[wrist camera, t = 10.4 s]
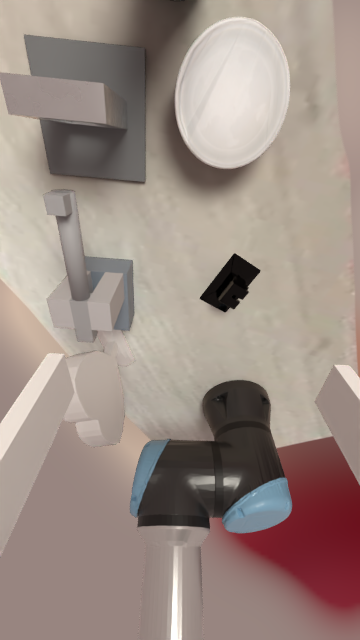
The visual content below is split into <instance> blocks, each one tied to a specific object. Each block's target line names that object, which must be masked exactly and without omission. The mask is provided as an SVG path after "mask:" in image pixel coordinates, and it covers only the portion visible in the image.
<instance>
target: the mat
mask: <svg viewBox="0 0 360 640" xmlns="http://www.w3.org/2000/svg"><path fill="white" fill-rule="evenodd" d="M24 39H25V44H26V49H27V54H28V60H29V65H30V70H31V75H32V76H39V77H49V78H58V79H68V80H78V81H87V82H97V83H104V84H105V85H106V86H108V87H109V88H110V89H112V90H113V91H114V92H115V93H117V94H118V95H119V96H120V97H122V98H123V99H124V100H126V101H127V124H128V130H126V129H116V128H106V127H96V126H85V125H75V124H65V123H56V122H50V121H45V120H40V123H41V128H42V133H43V138H44V144H45V149H46V154H47V159H48V165H49V170H50V173H51V174H62V175H73V176H85V177H96V178H107V179H118V180H129V181H141V182H145V48H141V47H132V46H123V45H114V44H105V43H96V42H87V41H78V40H69V39H60V38H51V37H42V36H33V35H24Z"/></svg>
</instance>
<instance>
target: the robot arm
mask: <svg viewBox="0 0 360 640" xmlns="http://www.w3.org/2000/svg"><path fill="white" fill-rule="evenodd" d="M74 393H75V392H74V388H73V385H72V381H71V377H70V373H69V370H68V366H67V362H66V359H65V355H64V354H55V353H48V354H47V356H46V357H45V358H44V360H43V361H42V363H41V365H40V366H39V367H38V369H37V370H36V372H35V373H34V375H33V376H32V378H31V379H30V381H29V382H28V384H27V385H26V386H25V388H24V389H23V391H22V392H21V394H20V395H19V397H18V398H17V400H16V401H15V403H14V404H13V406H12V407H11V409H10V410H9V412H8V413H7V414H6V416H5V418H4V419H3V420H2V422H1V423H0V557H1V554H2V552H3V550H4V548H5V546H6V543H7V541H8V539H9V536H10V534H11V532H12V530H13V528H14V526H15V523H16V521H17V519H18V517H19V514H20V512H21V510H22V508H23V506H24V504H25V501H26V499H27V497H28V494H29V493H30V490H31V488H32V486H33V484H34V481H35V479H36V477H37V475H38V473H39V470H40V468H41V466H42V464H43V461H44V459H45V457H46V455H47V453H48V450H49V448H50V446H51V444H52V442H53V439H54V437H55V435H56V433H57V431H58V428H59V426H60V424H61V422H62V420H63V417H64V415H65V413H66V411H67V409H68V406H69V404H70V402H71V400H72V398H73V395H74ZM315 403H316V405H317V407H318V409H319V411H320V412H321V414H322V416H323V418H324V420H325V422H326V424H327V425H328V427H329V429H330V431H331V433H332V435H333V436H334V438H335V440H336V442H337V444H338V446H339V447H340V449H341V451H342V453H343V455H344V457H345V459H346V460H347V462H348V464H349V466H350V468H351V470H352V472H353V473H354V475H355V477H356V479H357V481H358V483H359V485H360V378H359V377H358V376H357V374H356V373H355V372H354V371H353V369H352V368H351V367H350V366H349V365H334V366H333V368H332V370H331V371H330V373H329V375H328V377H327V379H326V381H325V383H324V385H323V387H322V389H321V391H320V392H319V394H318V396H317V398H316V400H315ZM203 409H204V415H205V417H206V419H207V422H208V424H209V426H210V428H211V430H212V432H213V435H214V440H215V441H188V440H171V439H167V440H152V441H149V442H148V443H147V444H146V445H145V446H144V448H143V450H142V452H141V455H140V458H139V461H138V465H137V468H136V473H135V477H134V482H133V487H132V496H131V501H130V513H131V514H132V515H133V516H134V517H138V527H137V531H138V532H139V534H140V536H141V537H142V539H143V540H144V543H145V558H144V571H143V582H142V595H141V607H140V619H139V632H138V640H204V632H203V599H202V569H201V567H202V566H201V545H202V543H203V541H204V540H205V538H206V537H207V535H208V534H209V532H210V523H209V518H210V517H212V518H213V517H218V518H222V523H223V524H224V527H225V529H226V530H228V531H230V532H235V533H248V532H255V531H259V530H263V529H266V528H269V527H272V526H274V525H276V524H279V523H280V522H282V521H283V520H285V519H286V518H287V517H288V515H289V514H290V512H291V510H292V501H291V497H290V493H289V489H288V485H287V484H288V482H287V479H286V478H285V475H284V471H283V469H282V465H281V462H280V459H279V456H278V453H277V450H276V446H275V443H274V440H273V437H272V434H271V430H270V412H271V404H270V400H269V397H268V394H267V392H266V390H265V389H264V388H263V387H261V386H260V385H258V384H256V383H253V382H250V381H243V380H237V381H229V382H225V383H222V384H219V385H217V386H215V387H214V388H212V389H211V390H210V391H209V392H208V393H207V394H206V395H205V397H204V400H203Z"/></svg>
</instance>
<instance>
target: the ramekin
mask: <svg viewBox="0 0 360 640" xmlns="http://www.w3.org/2000/svg"><path fill="white" fill-rule="evenodd" d="M289 98H290V74H289V68H288V63H287V59H286V56H285V54H284V51H283V49H282V47H281V45H280V43H279V41H278V40H277V38H276V37H275V36H274V35H273V33H272V32H271V31H270V30H269V29H267V28H266V27H265V26H264V25H263V24H261V23H260V22H258V21H256V20H254V19H251V18H247V17H230V18H226V19H223V20H220V21H218V22H216V23H214V24H212V25H211V26H209V27H208V28H207V29H206V30H204V31H203V32H202V33H201V34H200V35H199V36H198V37H197V38H196V39H195V41H194V42H193V43H192V45H191V46H190V48H189V49H188V51H187V53H186V55H185V57H184V59H183V61H182V64H181V67H180V69H179V73H178V76H177V80H176V86H175V97H174V105H175V116H176V121H177V125H178V128H179V131H180V134H181V136H182V139H183V141H184V142H185V144H186V146H187V147H188V149H189V150H190V151H191V153H192V154H193V155H194V156H195V157H196V158H198V159H199V160H200V161H202V162H203V163H205V164H207V165H209V166H211V167H214V168H219V169H235V168H239V167H242V166H245V165H247V164H249V163H251V162H253V161H254V160H256V159H257V158H259V157H260V156H261V155H262V154H263V153H264V152H265V151H266V150H267V149H268V148H269V146H270V145H271V144H272V142H273V141H274V140H275V138H276V137H277V135H278V133H279V131H280V129H281V127H282V125H283V122H284V119H285V116H286V113H287V109H288V105H289Z"/></svg>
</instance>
